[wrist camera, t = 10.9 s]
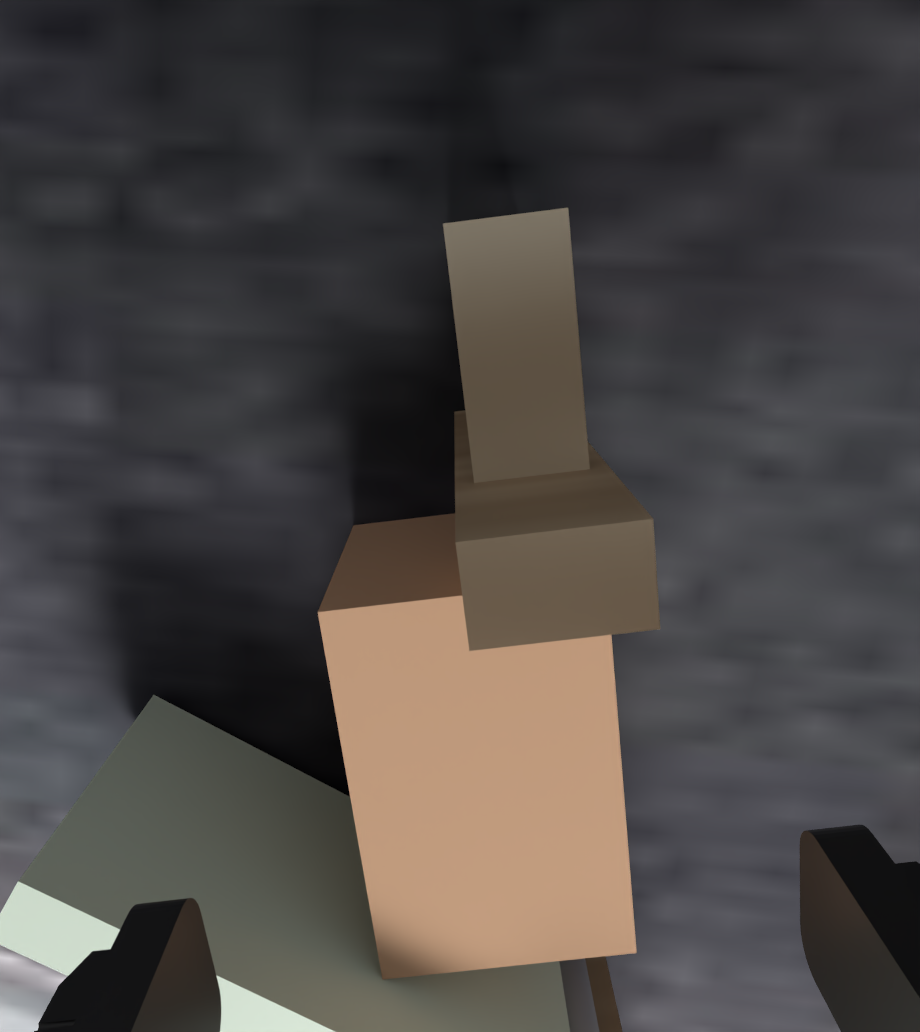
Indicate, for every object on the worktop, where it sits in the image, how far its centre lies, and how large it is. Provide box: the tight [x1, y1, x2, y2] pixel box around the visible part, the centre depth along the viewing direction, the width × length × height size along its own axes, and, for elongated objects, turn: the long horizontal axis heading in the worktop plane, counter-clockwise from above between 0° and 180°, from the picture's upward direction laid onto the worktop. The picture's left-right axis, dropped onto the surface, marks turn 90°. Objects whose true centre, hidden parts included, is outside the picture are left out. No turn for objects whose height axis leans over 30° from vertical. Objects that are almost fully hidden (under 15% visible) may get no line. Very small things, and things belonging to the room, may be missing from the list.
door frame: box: [443, 208, 660, 1032], centre depth 15 cm, size 22×2×9 cm, turn 7°
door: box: [0, 695, 599, 1032], centre depth 17 cm, size 11×2×7 cm, turn 59°
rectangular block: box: [318, 513, 637, 980], centre depth 17 cm, size 7×4×5 cm, turn 7°
